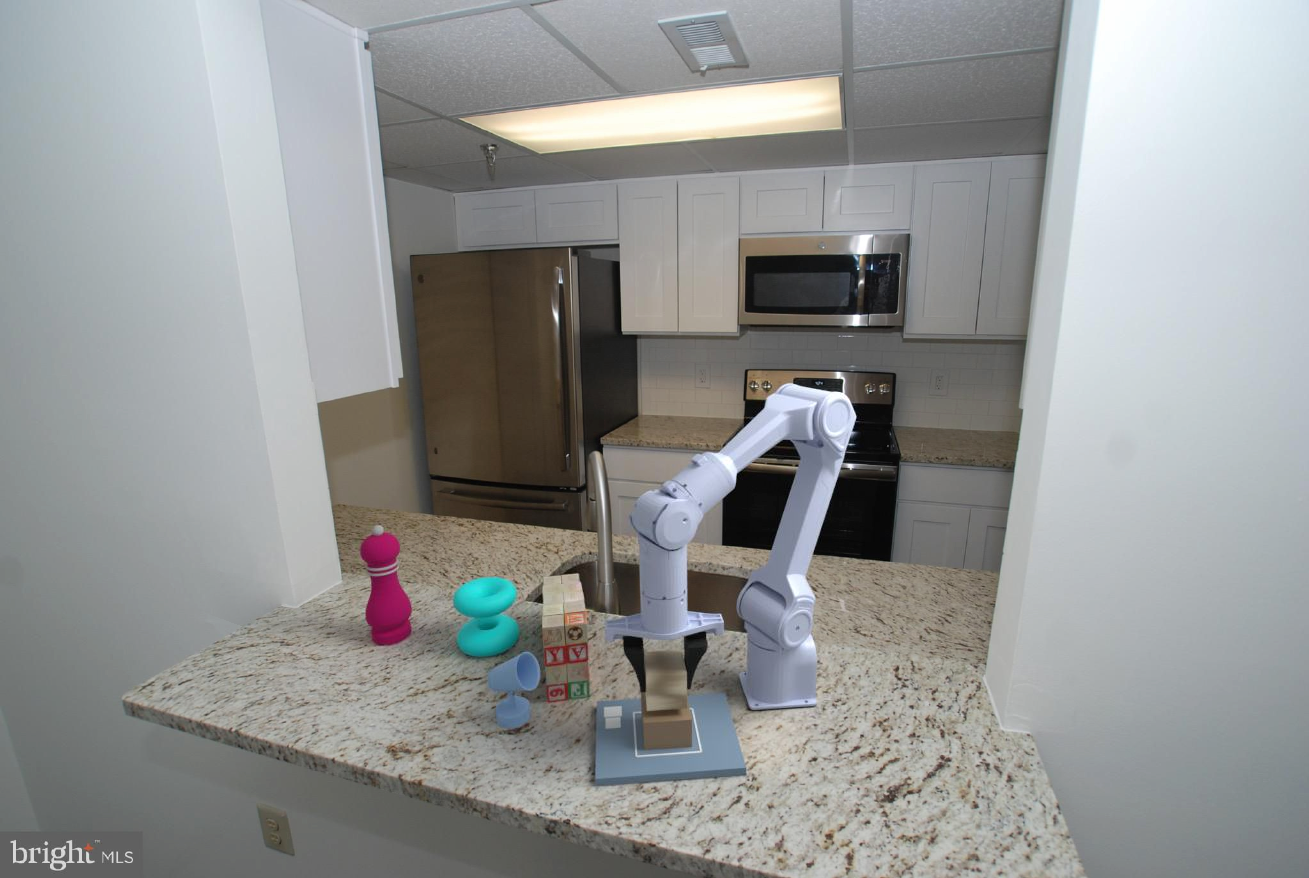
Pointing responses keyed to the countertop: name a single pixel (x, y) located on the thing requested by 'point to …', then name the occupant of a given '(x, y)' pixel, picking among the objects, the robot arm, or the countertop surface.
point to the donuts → (486, 616)
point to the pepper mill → (385, 589)
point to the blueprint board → (669, 766)
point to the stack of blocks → (565, 638)
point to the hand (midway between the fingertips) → (665, 686)
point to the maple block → (665, 680)
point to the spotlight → (514, 688)
